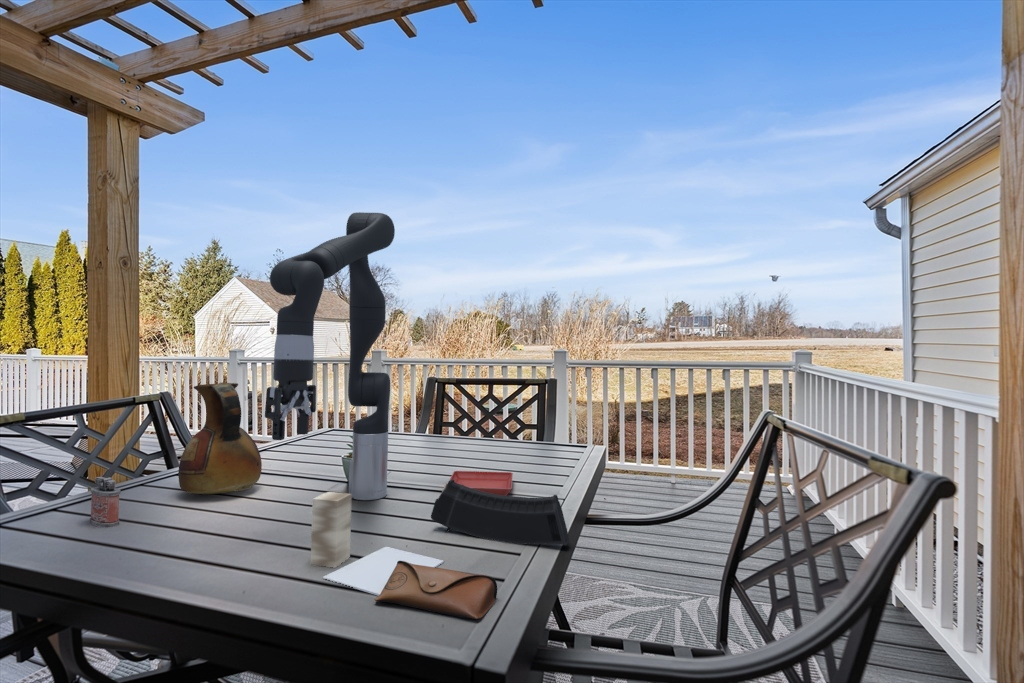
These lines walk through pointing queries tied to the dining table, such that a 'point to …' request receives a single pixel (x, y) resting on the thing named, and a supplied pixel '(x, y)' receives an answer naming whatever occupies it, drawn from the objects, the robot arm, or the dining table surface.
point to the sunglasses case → (440, 590)
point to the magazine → (501, 516)
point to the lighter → (105, 503)
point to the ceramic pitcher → (220, 447)
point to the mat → (377, 569)
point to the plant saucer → (485, 481)
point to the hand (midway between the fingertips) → (290, 436)
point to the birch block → (331, 529)
